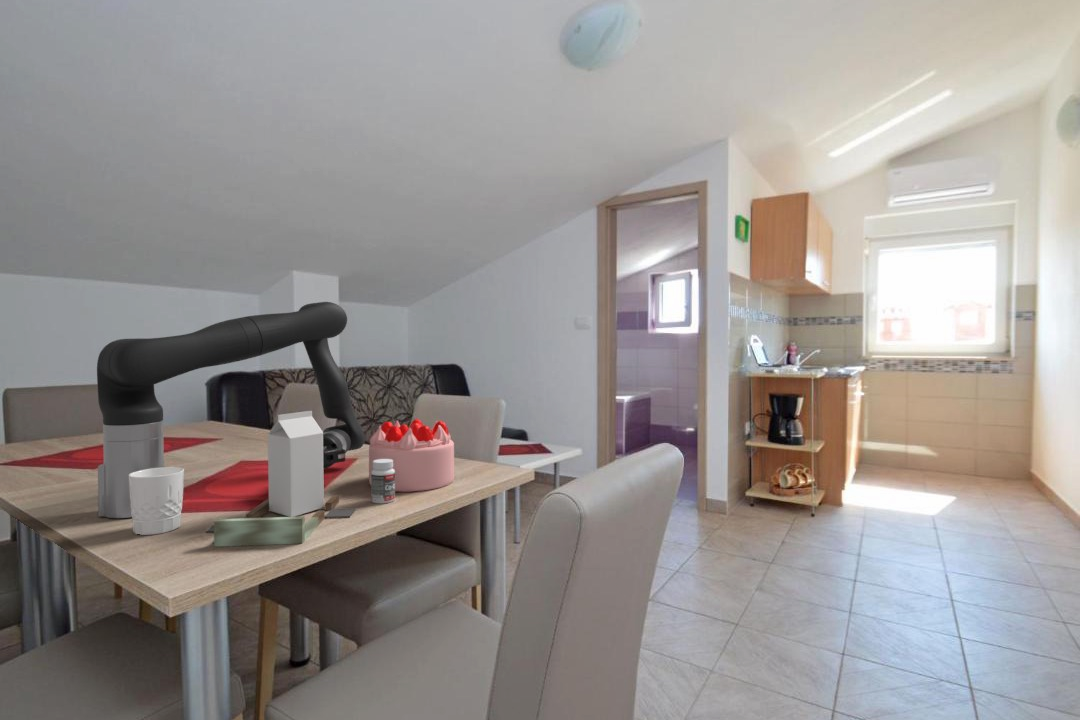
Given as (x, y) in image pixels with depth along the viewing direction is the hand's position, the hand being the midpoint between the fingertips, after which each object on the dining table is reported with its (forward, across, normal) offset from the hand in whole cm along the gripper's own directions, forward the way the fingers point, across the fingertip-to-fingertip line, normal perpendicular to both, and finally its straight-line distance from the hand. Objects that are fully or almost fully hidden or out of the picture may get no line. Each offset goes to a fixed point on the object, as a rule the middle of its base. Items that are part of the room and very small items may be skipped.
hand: (303, 464), depth 110 cm
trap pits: (+11, 0, +8) cm, 14 cm away
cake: (-17, +20, +8) cm, 27 cm away
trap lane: (+11, 0, +8) cm, 14 cm away
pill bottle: (-1, +16, +8) cm, 18 cm away
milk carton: (+5, 0, +8) cm, 9 cm away
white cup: (+13, -20, +8) cm, 26 cm away
